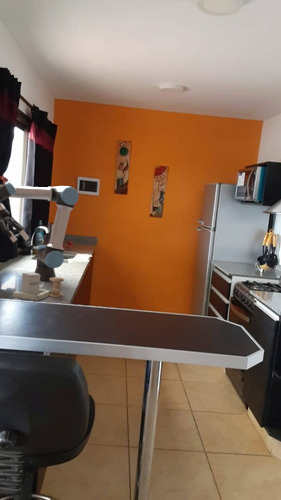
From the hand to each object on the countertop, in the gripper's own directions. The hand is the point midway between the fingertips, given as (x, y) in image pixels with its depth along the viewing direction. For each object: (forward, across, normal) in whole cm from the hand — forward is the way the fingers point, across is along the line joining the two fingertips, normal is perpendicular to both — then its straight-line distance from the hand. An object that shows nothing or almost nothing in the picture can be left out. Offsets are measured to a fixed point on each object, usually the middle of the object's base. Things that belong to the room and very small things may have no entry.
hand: (21, 240), depth 242 cm
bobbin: (+38, +1, -4) cm, 39 cm away
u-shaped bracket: (+31, +9, -11) cm, 34 cm away
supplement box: (+30, +9, -12) cm, 34 cm away
